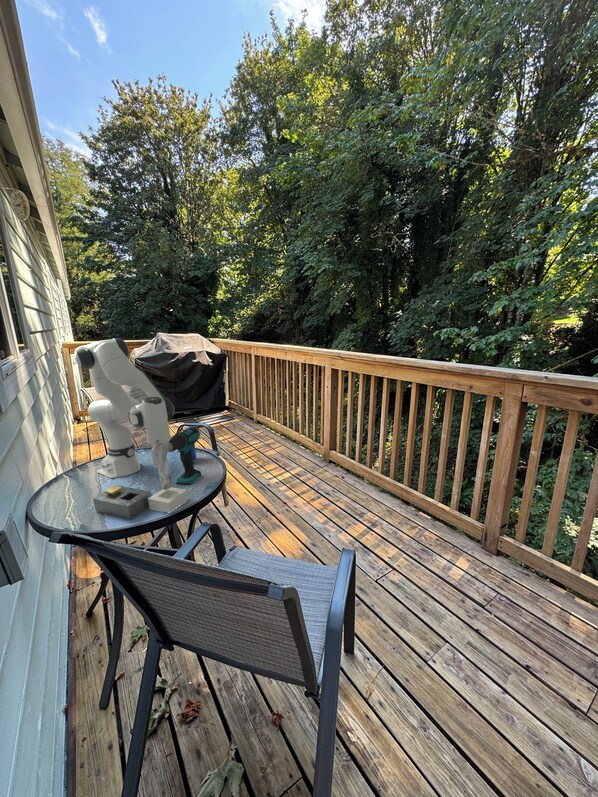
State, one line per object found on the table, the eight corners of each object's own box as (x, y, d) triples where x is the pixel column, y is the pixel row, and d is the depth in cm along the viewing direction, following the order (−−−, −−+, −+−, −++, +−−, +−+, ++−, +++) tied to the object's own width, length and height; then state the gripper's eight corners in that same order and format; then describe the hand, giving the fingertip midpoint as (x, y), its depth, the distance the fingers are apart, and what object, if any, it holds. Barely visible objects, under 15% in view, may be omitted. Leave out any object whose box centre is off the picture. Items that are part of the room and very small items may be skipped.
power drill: (181, 495, 156) (173, 443, 150) (163, 494, 158) (155, 442, 152) (207, 470, 181) (201, 424, 175) (191, 469, 183) (185, 423, 177)
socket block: (95, 511, 147) (92, 498, 145) (119, 497, 157) (117, 485, 156) (130, 519, 139) (128, 506, 137) (153, 504, 150) (151, 491, 148)
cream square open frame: (149, 509, 146) (147, 498, 145) (168, 496, 156) (167, 486, 154) (170, 513, 142) (168, 502, 140) (188, 500, 151) (186, 490, 150)
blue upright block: (195, 463, 189) (191, 436, 186) (179, 465, 189) (175, 437, 185) (198, 457, 198) (194, 430, 194) (183, 458, 197) (179, 432, 193)
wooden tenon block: (106, 506, 149) (103, 491, 147) (116, 501, 153) (113, 485, 151) (115, 508, 147) (112, 492, 145) (125, 502, 151) (122, 487, 149)
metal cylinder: (159, 489, 145) (155, 462, 142) (164, 484, 149) (160, 458, 146) (168, 489, 144) (164, 463, 142) (173, 485, 148) (169, 459, 145)
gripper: (163, 444, 132) (168, 478, 135) (169, 428, 152) (173, 458, 155) (146, 446, 131) (151, 480, 134) (154, 430, 150) (158, 460, 153)
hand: (163, 468), depth 145 cm, fingers closed on metal cylinder, 4 cm apart
